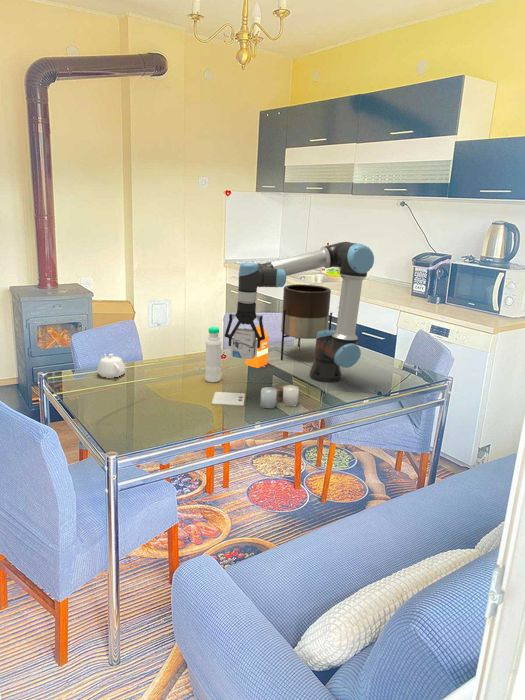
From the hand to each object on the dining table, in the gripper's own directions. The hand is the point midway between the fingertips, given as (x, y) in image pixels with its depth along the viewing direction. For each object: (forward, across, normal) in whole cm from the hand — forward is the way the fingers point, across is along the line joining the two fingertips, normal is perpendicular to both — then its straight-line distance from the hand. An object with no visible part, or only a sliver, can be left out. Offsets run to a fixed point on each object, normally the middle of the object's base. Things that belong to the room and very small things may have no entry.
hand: (243, 354), depth 214 cm
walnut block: (+18, -16, +1) cm, 25 cm away
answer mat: (+19, +5, +5) cm, 20 cm away
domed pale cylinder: (+18, -12, +9) cm, 24 cm away
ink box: (+1, 0, 0) cm, 1 cm away
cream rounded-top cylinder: (+18, -21, +5) cm, 28 cm away
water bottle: (+19, +15, -17) cm, 30 cm away
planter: (+18, -28, -64) cm, 72 cm away
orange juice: (+18, -4, -45) cm, 48 cm away
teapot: (+20, +62, -17) cm, 67 cm away
